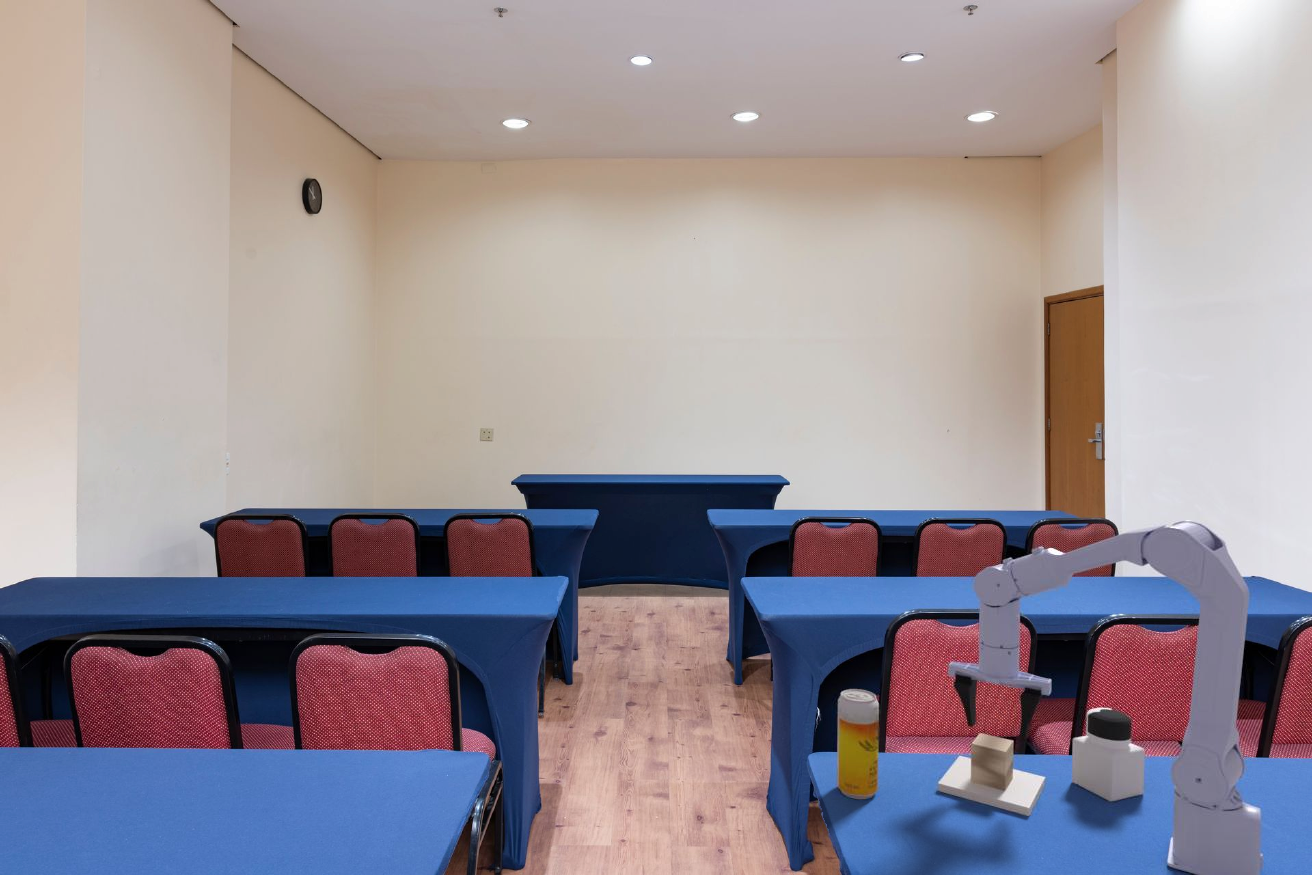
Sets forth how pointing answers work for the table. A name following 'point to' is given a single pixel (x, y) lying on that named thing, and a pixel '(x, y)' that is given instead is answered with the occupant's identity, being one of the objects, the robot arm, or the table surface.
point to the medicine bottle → (1108, 757)
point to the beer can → (857, 743)
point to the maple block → (992, 761)
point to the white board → (1014, 798)
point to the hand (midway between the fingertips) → (997, 730)
